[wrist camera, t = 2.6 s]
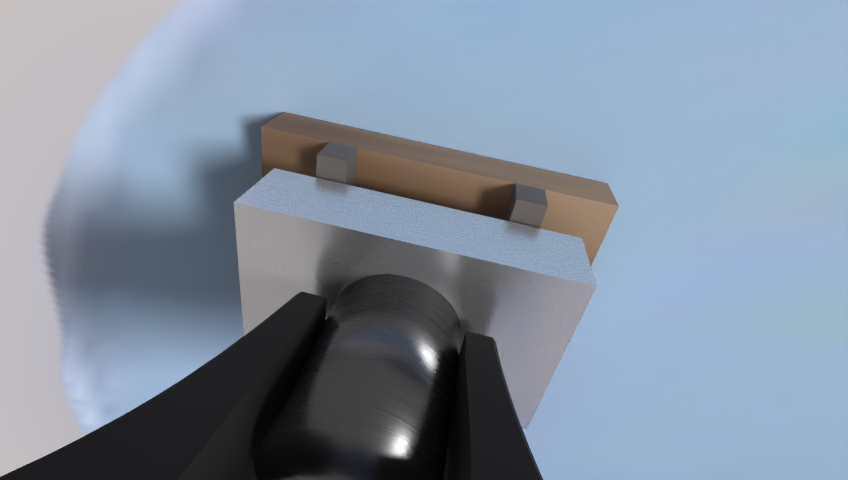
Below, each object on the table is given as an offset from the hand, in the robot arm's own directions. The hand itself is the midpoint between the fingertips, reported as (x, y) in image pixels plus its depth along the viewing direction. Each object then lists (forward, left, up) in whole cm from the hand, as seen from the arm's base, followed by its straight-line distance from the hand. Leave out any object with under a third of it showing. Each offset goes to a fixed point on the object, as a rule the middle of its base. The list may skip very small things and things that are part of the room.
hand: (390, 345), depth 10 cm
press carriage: (0, 0, -3) cm, 3 cm away
